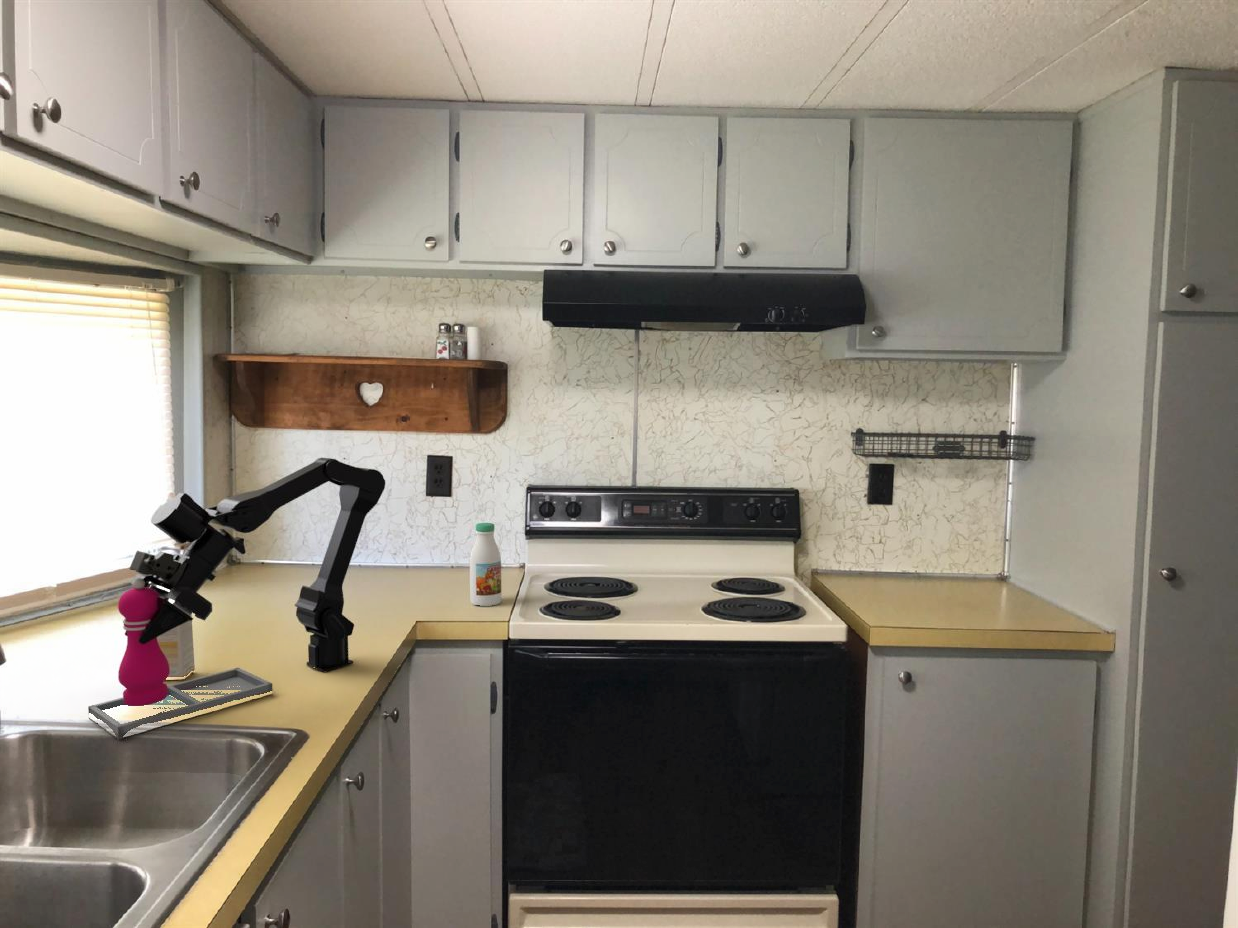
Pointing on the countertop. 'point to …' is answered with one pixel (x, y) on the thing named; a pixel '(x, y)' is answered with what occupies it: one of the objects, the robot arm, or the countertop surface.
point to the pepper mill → (141, 649)
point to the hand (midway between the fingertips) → (133, 639)
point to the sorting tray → (216, 681)
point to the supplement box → (178, 649)
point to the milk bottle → (485, 568)
